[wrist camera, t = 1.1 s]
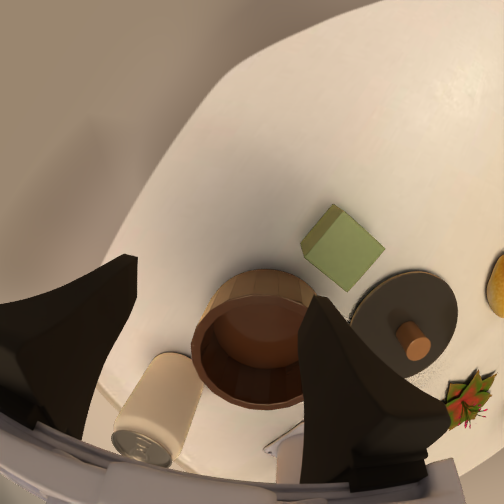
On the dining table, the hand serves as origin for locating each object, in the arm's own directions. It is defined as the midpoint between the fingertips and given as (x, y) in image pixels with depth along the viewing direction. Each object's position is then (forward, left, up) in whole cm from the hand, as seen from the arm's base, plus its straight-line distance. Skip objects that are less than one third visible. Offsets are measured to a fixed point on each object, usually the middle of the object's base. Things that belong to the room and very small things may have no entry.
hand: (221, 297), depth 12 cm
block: (-6, -4, -15) cm, 17 cm away
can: (-3, +18, -15) cm, 24 cm away
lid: (-18, -2, -14) cm, 23 cm away
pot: (-7, +7, -15) cm, 18 cm away
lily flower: (-37, 0, -15) cm, 40 cm away
